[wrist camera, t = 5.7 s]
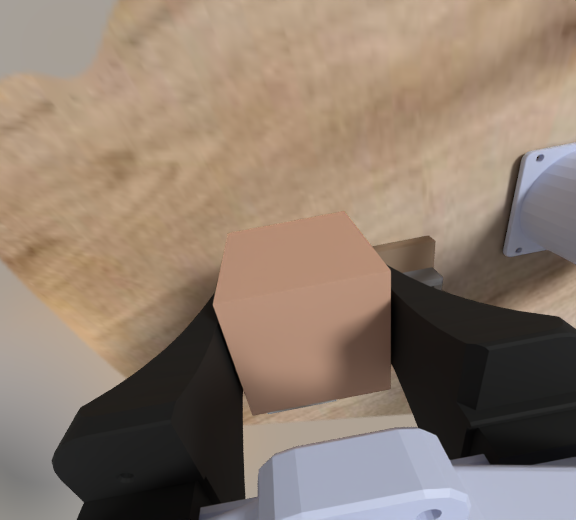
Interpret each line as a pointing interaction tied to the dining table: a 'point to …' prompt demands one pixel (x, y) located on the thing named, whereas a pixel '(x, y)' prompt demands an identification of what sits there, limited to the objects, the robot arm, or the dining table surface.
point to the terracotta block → (305, 312)
